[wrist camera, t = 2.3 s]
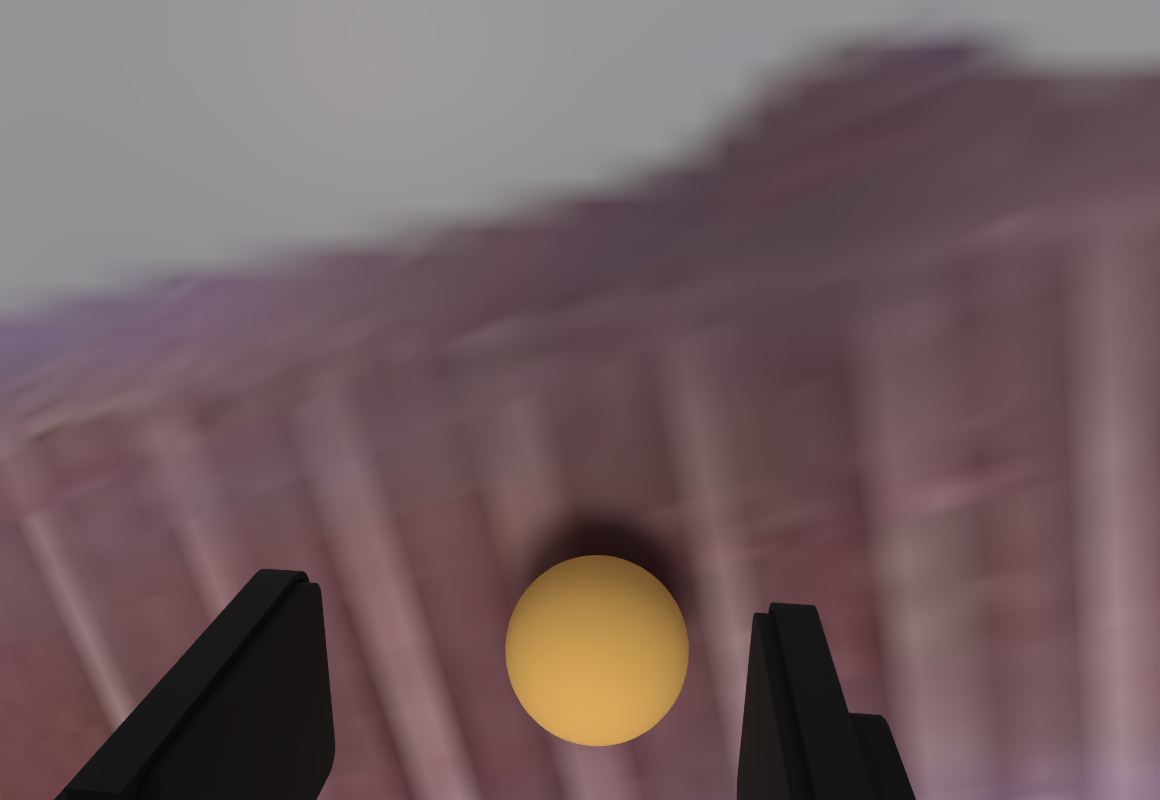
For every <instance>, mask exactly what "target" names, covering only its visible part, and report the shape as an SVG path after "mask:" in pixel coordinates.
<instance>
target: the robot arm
mask: <svg viewBox="0 0 1160 800" xmlns="http://www.w3.org/2000/svg"><path fill="white" fill-rule="evenodd" d="M334 755H335V737H334V726H333V715H332V704H331V693H330V682H329V671H328V660H327V649H326V639H325V628H324V617H323V606H322V595H321V589H320V587H319V585H318V584H317V583H309V579H308V576H307V574H306V573H305V572H303V571H291V570H276V569H261V570H259V571H258V572H257V573H256V574H255V575H254V576H253V577H252V578H251V580H250V581H249V582H248V583H247V584H246V585H245V586H244V587H243V589H242V590H241V591H240V592H239V593H238V594H237V595H236V596H235V598H234V599H233V600H232V601H231V602H230V603H229V604H228V605H227V606H226V608H225V609H224V610H223V611H222V612H221V613H220V614H219V615H218V617H217V618H216V619H215V620H214V621H213V622H212V623H211V624H210V626H209V627H208V628H207V629H206V630H205V631H204V632H203V633H202V635H201V636H200V637H199V638H198V639H197V640H196V641H195V642H194V644H193V645H192V646H191V647H190V648H189V649H188V650H187V651H186V653H185V654H184V655H183V656H182V657H181V658H180V659H179V660H178V662H177V663H176V664H175V665H174V666H173V667H172V668H171V669H170V671H168V672H167V674H166V675H165V676H164V677H163V678H162V679H161V680H160V681H159V683H158V684H157V685H156V686H155V687H154V688H153V689H152V690H151V692H150V693H149V694H148V695H147V696H146V697H145V698H144V699H143V701H142V702H141V703H140V704H139V705H138V706H137V707H136V708H135V709H134V711H133V712H132V713H131V714H130V715H129V716H128V717H127V718H126V720H125V721H124V722H123V723H122V724H121V725H120V726H119V727H118V729H117V730H116V731H115V732H114V733H113V734H112V735H111V736H110V738H109V739H108V740H107V741H106V742H105V743H104V744H103V745H102V747H101V748H100V749H99V750H98V751H97V752H96V753H95V754H94V756H93V757H92V758H91V759H90V760H89V761H88V762H87V763H86V765H85V766H84V767H83V768H82V769H81V770H80V771H79V772H78V774H77V775H76V776H75V777H74V778H73V779H72V780H71V781H70V782H69V784H68V785H67V786H66V787H65V788H64V789H63V790H62V791H61V793H60V794H59V795H58V796H57V797H56V798H55V799H54V800H316V799H317V797H318V795H319V794H320V792H321V790H322V788H323V786H324V784H325V782H326V780H327V778H328V776H329V773H330V771H331V768H332V765H333V761H334ZM737 800H916V799H915V796H914V793H913V790H912V788H911V785H910V782H909V780H908V777H907V774H906V771H905V769H904V766H903V763H902V760H901V758H900V755H899V752H898V750H897V747H896V744H895V741H894V739H893V736H892V733H891V731H890V728H889V726H888V724H887V722H886V720H885V718H883V717H882V716H881V715H871V714H858V713H849V712H848V709H847V705H846V702H845V699H844V696H843V692H842V689H841V686H840V683H839V679H838V676H837V673H836V670H835V666H834V663H833V660H832V657H831V654H830V650H829V647H828V644H827V641H826V637H825V634H824V631H823V628H822V624H821V621H820V618H819V615H818V611H817V609H816V607H815V606H814V605H802V604H787V603H771V604H770V607H769V612H768V614H767V613H755V614H754V617H753V623H752V633H751V643H750V654H749V664H748V674H747V684H746V695H745V705H744V715H743V725H742V736H741V746H740V756H739V766H738V777H737Z"/></svg>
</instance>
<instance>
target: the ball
mask: <svg viewBox="0 0 1160 800" xmlns="http://www.w3.org/2000/svg"><path fill="white" fill-rule="evenodd" d="M688 658H689V643H688V637H687V631H686V626H685V623H684V619H683V616H682V614H681V612H680V609H679V607H678V605H677V603H676V601H675V600H674V598H673V597H672V595H671V594H670V593H669V591H668V590H667V589H666V588H665V586H664V585H663V584H662V583H661V582H660V581H659V580H658V579H657V578H656V577H654V576H653V575H652V574H651V573H649V572H648V571H646V570H645V569H643V568H642V567H640V566H638V565H636V564H634V563H632V562H630V561H627V560H624V559H621V558H617V557H613V556H605V555H589V556H581V557H577V558H573V559H569V560H567V561H564V562H561V563H559V564H557V565H555V566H553V567H551V568H550V569H548V570H547V571H546V572H544V573H543V574H542V575H540V576H539V577H538V578H537V579H536V580H535V581H534V582H533V583H531V585H530V586H529V587H528V588H527V590H526V591H525V592H524V594H523V595H522V596H521V598H520V600H519V601H518V603H517V605H516V607H515V609H514V611H513V614H512V617H511V619H510V622H509V627H508V631H507V636H506V664H507V669H508V673H509V677H510V681H511V684H512V687H513V689H514V691H515V693H516V695H517V697H518V699H519V701H520V702H521V704H522V706H523V707H524V708H525V710H526V711H527V712H528V714H529V715H530V716H531V717H532V718H533V719H534V720H535V721H536V722H537V723H538V724H540V725H541V726H542V727H543V728H544V729H546V730H547V731H549V732H550V733H552V734H554V735H556V736H558V737H560V738H562V739H564V740H567V741H570V742H573V743H577V744H581V745H589V746H608V745H614V744H620V743H623V742H626V741H629V740H631V739H633V738H636V737H638V736H639V735H641V734H643V733H645V732H646V731H648V730H649V729H651V728H652V727H653V726H654V725H656V724H657V723H658V722H659V721H660V720H661V719H662V718H663V717H664V716H665V714H666V713H667V712H668V711H669V710H670V708H671V707H672V705H673V704H674V702H675V700H676V699H677V697H678V695H679V693H680V691H681V689H682V686H683V683H684V679H685V676H686V673H687V667H688Z"/></svg>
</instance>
